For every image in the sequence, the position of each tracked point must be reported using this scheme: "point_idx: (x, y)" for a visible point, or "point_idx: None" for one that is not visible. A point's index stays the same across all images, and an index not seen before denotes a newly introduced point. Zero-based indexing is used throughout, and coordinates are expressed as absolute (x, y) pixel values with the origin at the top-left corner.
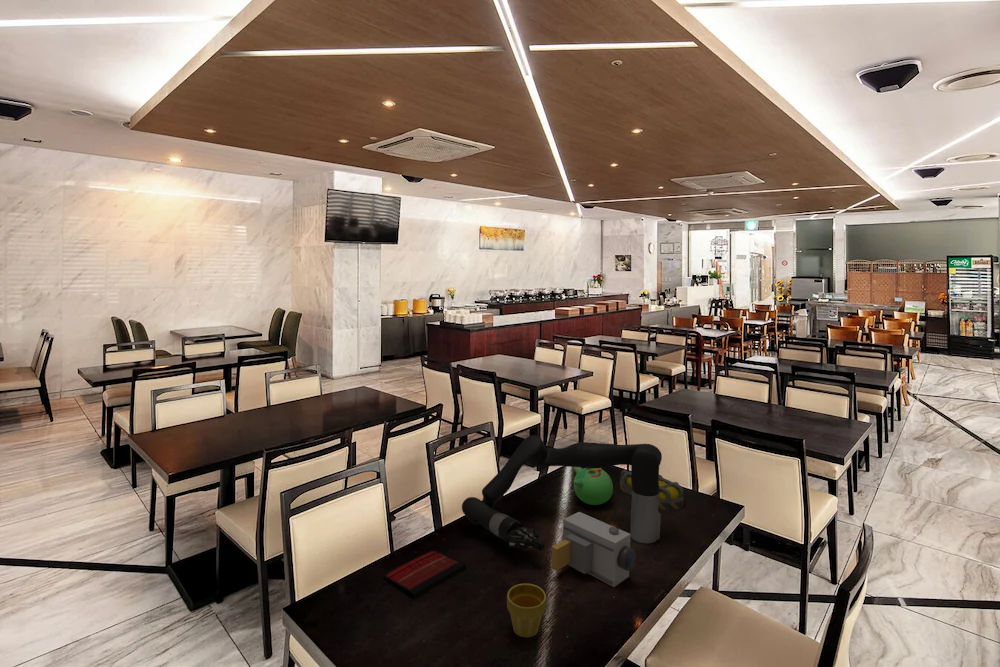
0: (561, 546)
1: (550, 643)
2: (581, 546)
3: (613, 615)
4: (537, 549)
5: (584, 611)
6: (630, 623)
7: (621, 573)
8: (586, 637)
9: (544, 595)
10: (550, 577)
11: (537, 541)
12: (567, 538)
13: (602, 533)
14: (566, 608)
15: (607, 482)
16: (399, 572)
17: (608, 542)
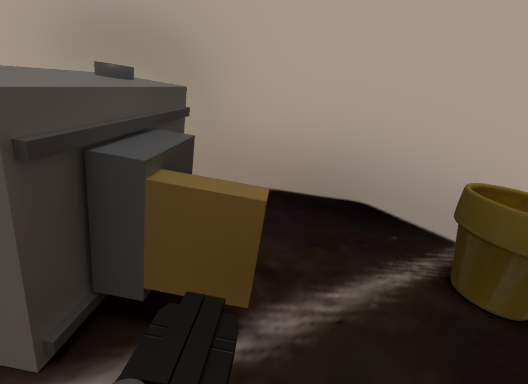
0: (229, 182)
1: (439, 250)
2: (187, 148)
3: (273, 205)
4: (234, 352)
5: (308, 233)
6: (271, 192)
7: None
8: (361, 220)
9: (471, 186)
10: (244, 349)
11: (190, 339)
12: (152, 162)
13: (137, 82)
14: (336, 257)
15: None
16: None
17: (177, 95)
